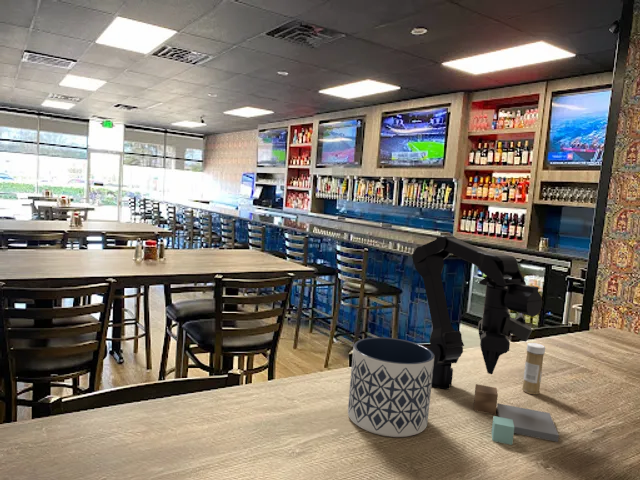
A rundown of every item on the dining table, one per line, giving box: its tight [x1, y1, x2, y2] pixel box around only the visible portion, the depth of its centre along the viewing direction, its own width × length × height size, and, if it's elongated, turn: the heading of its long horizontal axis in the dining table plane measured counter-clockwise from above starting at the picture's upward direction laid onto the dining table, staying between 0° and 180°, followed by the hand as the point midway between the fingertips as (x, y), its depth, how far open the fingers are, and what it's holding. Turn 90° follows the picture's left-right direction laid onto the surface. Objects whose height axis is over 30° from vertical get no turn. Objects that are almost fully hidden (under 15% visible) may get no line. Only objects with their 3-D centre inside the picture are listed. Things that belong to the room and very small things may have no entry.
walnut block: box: [473, 383, 498, 415], centre depth 121 cm, size 5×5×5 cm
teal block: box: [491, 415, 515, 446], centre depth 105 cm, size 4×4×4 cm
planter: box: [347, 337, 434, 438], centre depth 110 cm, size 18×18×16 cm
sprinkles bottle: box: [521, 342, 546, 395], centre depth 134 cm, size 5×5×13 cm
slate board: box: [496, 402, 560, 443], centre depth 113 cm, size 12×12×2 cm
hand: (488, 367), depth 120 cm, fingers open, 9 cm apart
